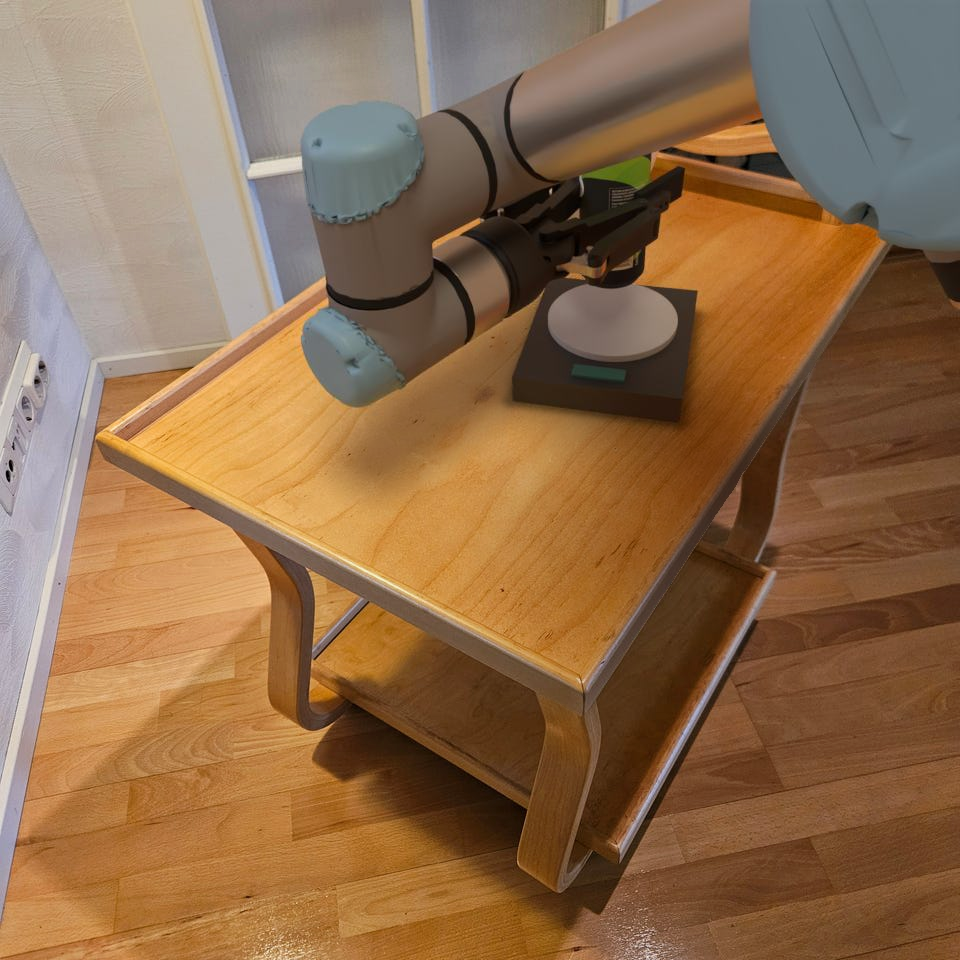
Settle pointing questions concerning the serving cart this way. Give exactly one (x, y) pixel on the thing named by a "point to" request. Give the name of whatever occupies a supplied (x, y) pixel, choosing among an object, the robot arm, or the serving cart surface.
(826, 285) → the serving cart surface
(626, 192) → the beverage can
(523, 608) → the serving cart surface
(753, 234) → the serving cart surface
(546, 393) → the scale
